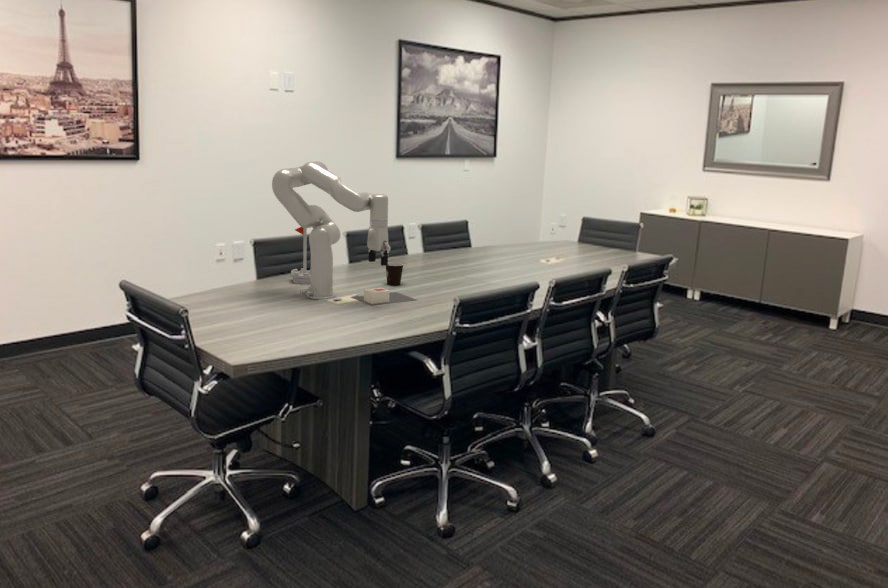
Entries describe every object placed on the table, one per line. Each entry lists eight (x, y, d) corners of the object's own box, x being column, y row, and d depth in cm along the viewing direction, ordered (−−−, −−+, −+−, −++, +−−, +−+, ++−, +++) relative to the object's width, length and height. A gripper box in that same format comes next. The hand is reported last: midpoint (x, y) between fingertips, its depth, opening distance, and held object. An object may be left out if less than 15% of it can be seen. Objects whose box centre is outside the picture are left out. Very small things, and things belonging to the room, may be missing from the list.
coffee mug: (401, 286, 349) (402, 266, 347) (383, 285, 350) (384, 265, 347) (403, 281, 361) (404, 262, 359) (386, 280, 361) (387, 261, 359)
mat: (371, 307, 307) (371, 305, 306) (350, 298, 320) (350, 297, 320) (418, 301, 321) (418, 300, 321) (395, 293, 335) (395, 291, 335)
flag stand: (321, 280, 356) (322, 219, 349) (314, 285, 343) (314, 222, 337) (295, 278, 357) (295, 217, 350) (287, 283, 344) (287, 220, 338)
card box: (371, 304, 309) (371, 292, 308) (363, 300, 314) (363, 289, 313) (389, 301, 315) (389, 290, 314) (381, 298, 320) (381, 287, 319)
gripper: (360, 221, 312) (360, 260, 315) (382, 226, 298) (381, 267, 302) (375, 221, 316) (374, 259, 320) (397, 225, 303) (396, 266, 306)
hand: (378, 263), depth 311 cm, fingers open, 9 cm apart
